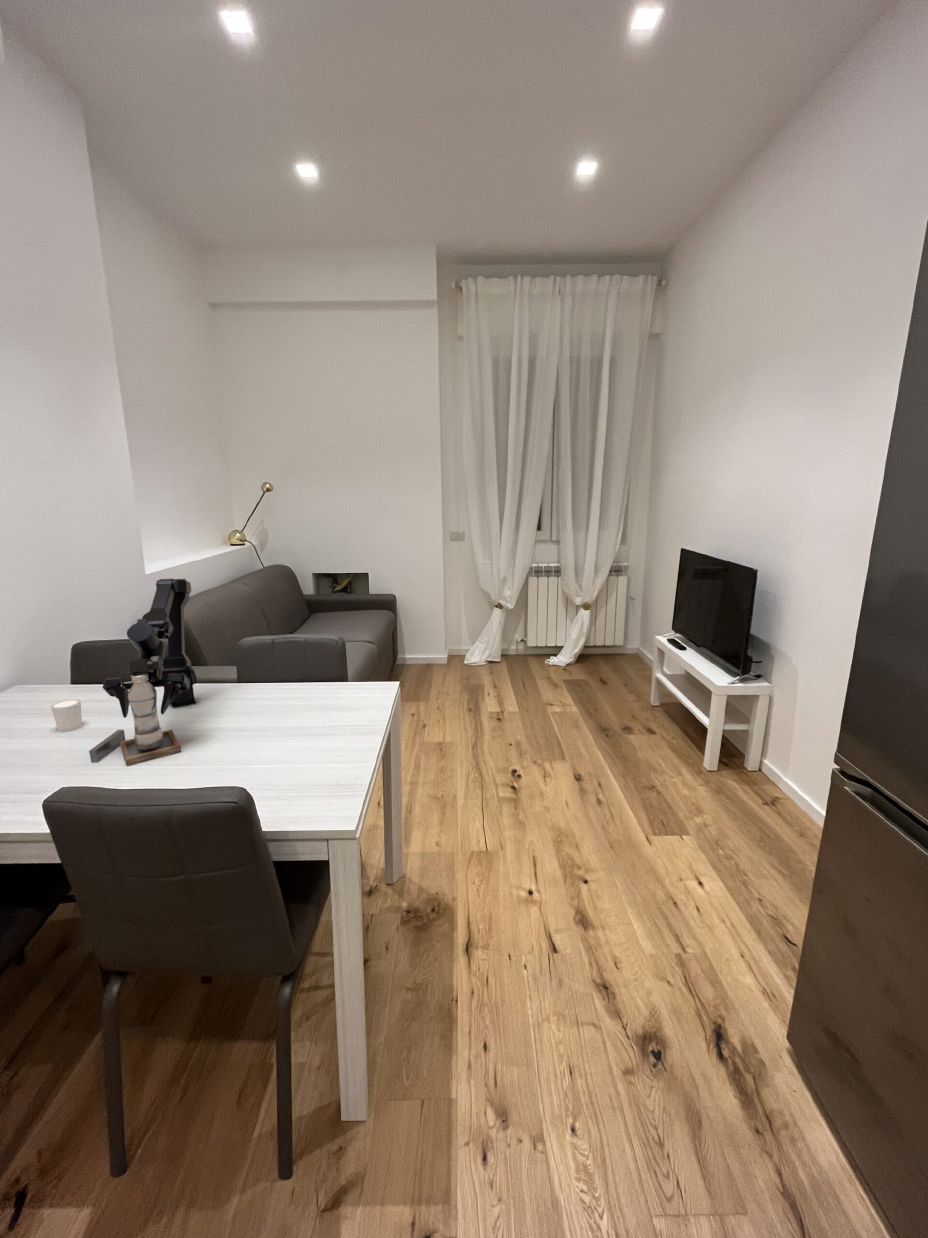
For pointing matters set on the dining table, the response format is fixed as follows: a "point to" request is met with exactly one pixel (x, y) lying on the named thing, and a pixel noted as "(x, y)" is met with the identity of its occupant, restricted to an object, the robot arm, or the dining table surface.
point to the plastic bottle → (144, 712)
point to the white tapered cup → (67, 714)
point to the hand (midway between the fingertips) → (143, 715)
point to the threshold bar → (106, 746)
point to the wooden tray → (137, 756)
